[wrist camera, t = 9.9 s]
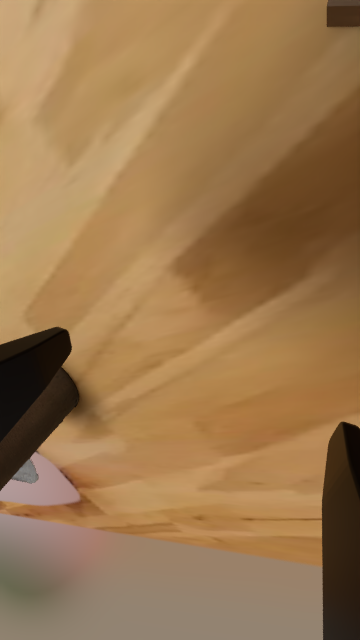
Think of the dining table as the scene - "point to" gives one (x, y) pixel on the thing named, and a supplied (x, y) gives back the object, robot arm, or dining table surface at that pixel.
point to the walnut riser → (343, 13)
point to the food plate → (26, 473)
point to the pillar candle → (37, 425)
